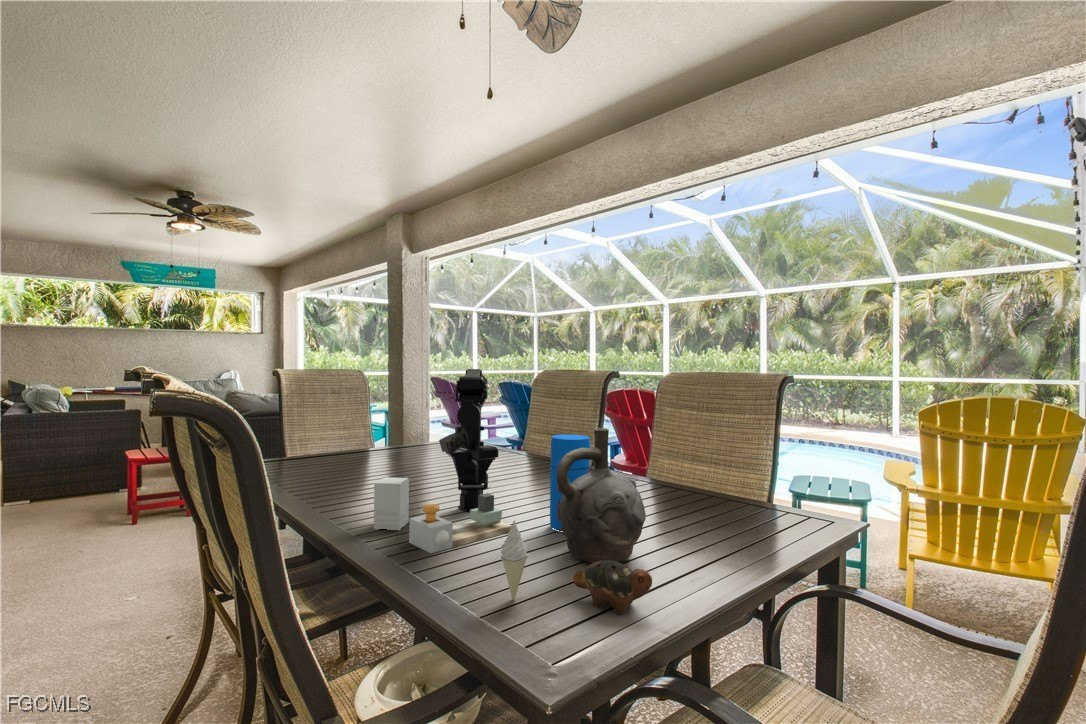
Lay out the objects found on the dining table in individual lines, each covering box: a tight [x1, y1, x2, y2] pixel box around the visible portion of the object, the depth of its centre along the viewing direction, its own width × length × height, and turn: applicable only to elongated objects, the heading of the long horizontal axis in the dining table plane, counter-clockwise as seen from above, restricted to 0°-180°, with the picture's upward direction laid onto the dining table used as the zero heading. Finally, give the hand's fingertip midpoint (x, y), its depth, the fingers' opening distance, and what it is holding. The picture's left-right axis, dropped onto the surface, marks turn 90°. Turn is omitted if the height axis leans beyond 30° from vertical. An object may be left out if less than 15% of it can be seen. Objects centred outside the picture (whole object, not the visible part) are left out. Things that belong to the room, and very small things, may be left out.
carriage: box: [469, 492, 503, 524], centre depth 138 cm, size 6×6×6 cm
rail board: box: [452, 520, 512, 548], centre depth 135 cm, size 19×10×3 cm, turn 134°
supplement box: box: [373, 476, 410, 531], centre depth 140 cm, size 7×7×13 cm
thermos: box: [549, 434, 591, 531], centre depth 142 cm, size 11×11×25 cm
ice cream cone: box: [500, 520, 528, 601], centre depth 97 cm, size 5×5×15 cm
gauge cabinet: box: [408, 514, 454, 554], centre depth 126 cm, size 6×10×6 cm, turn 44°
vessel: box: [557, 427, 647, 564], centre depth 119 cm, size 24×22×30 cm
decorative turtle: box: [572, 560, 653, 615], centre depth 95 cm, size 10×15×8 cm, turn 67°
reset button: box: [422, 503, 440, 524], centre depth 126 cm, size 4×4×4 cm
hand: (469, 480), depth 138 cm, fingers open, 9 cm apart
